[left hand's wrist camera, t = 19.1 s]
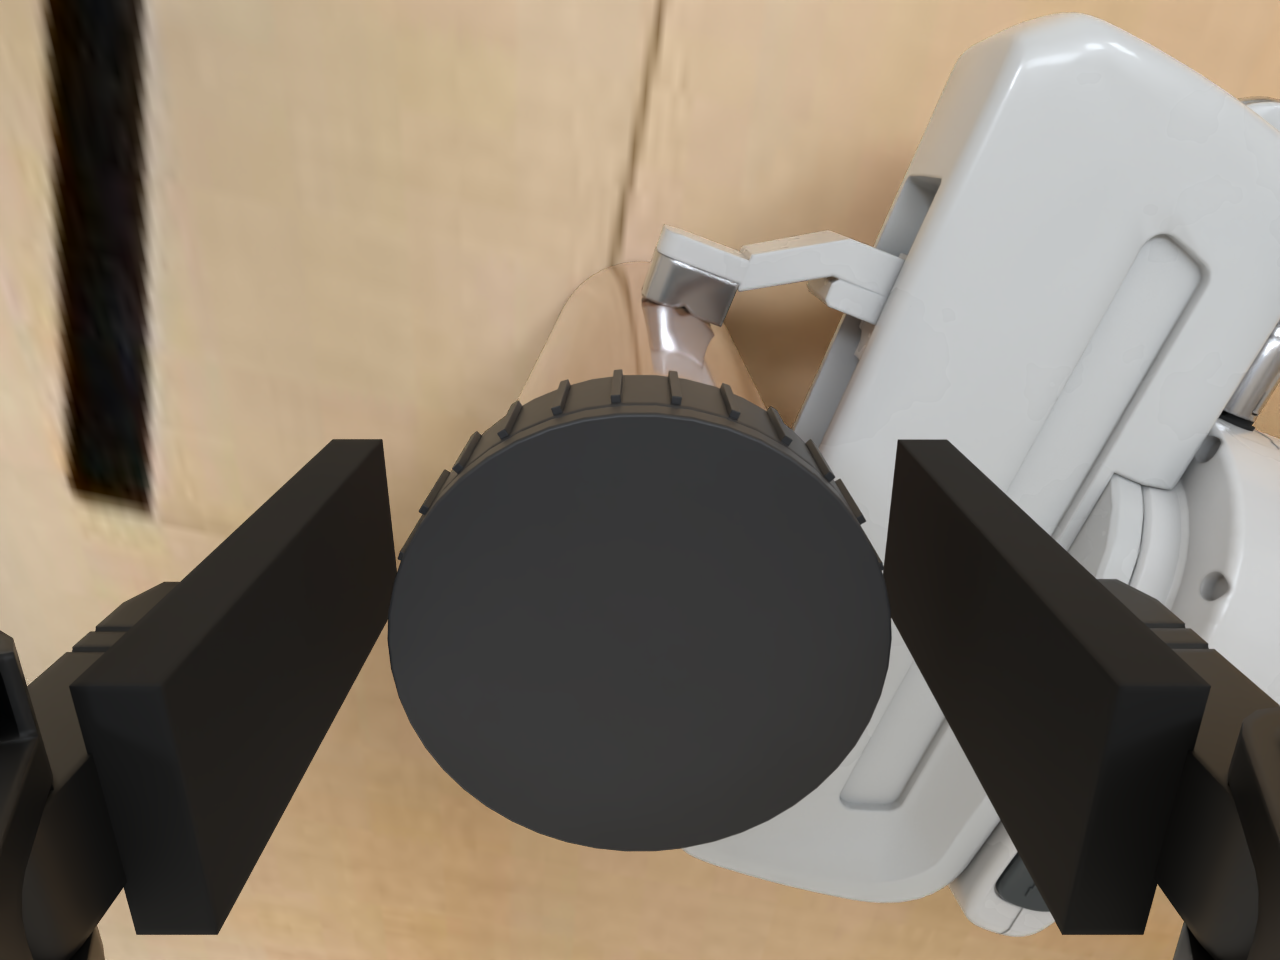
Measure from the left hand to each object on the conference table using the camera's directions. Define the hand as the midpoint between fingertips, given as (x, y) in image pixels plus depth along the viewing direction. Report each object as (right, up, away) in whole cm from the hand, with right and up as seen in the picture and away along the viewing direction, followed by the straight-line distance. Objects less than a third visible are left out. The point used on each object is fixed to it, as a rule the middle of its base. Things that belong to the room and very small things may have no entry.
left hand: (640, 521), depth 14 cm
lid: (0, -1, -3) cm, 3 cm away
